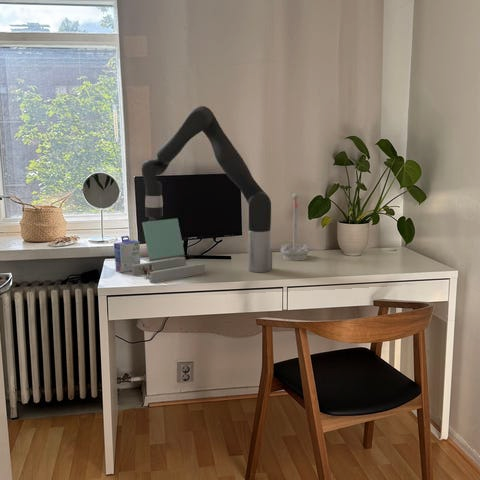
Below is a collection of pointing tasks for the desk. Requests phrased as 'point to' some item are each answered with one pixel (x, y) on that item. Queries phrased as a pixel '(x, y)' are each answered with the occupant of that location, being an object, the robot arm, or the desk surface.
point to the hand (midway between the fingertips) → (154, 244)
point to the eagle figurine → (147, 270)
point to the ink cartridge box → (126, 254)
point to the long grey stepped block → (169, 269)
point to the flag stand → (294, 240)
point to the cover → (163, 239)
